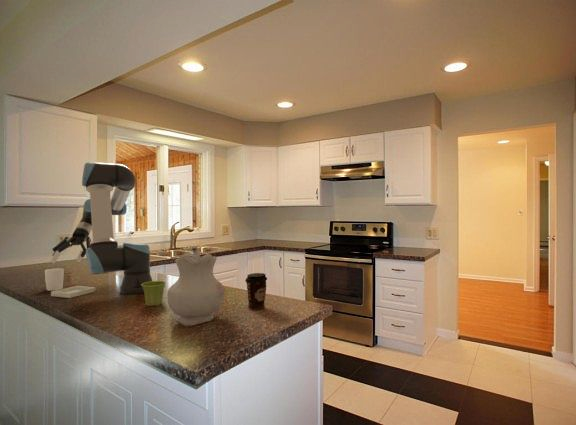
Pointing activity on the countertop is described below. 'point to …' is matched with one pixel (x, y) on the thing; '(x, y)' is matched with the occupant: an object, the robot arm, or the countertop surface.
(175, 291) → the ceramic pitcher
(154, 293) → the plant pot
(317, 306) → the countertop surface
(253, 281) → the coffee cup
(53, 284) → the white cup
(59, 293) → the coaster tray
